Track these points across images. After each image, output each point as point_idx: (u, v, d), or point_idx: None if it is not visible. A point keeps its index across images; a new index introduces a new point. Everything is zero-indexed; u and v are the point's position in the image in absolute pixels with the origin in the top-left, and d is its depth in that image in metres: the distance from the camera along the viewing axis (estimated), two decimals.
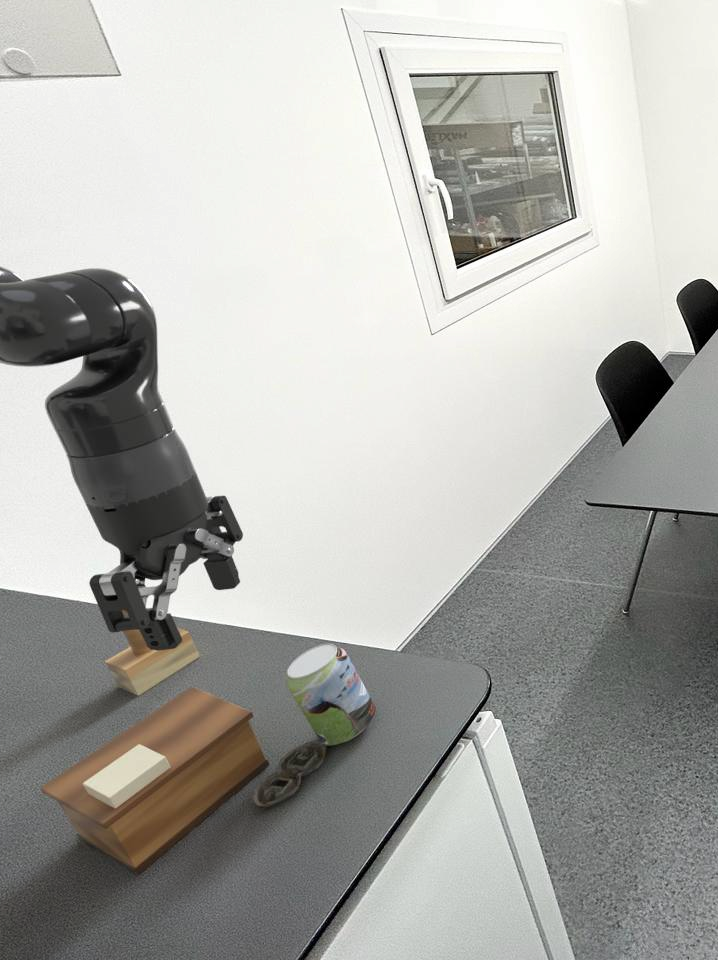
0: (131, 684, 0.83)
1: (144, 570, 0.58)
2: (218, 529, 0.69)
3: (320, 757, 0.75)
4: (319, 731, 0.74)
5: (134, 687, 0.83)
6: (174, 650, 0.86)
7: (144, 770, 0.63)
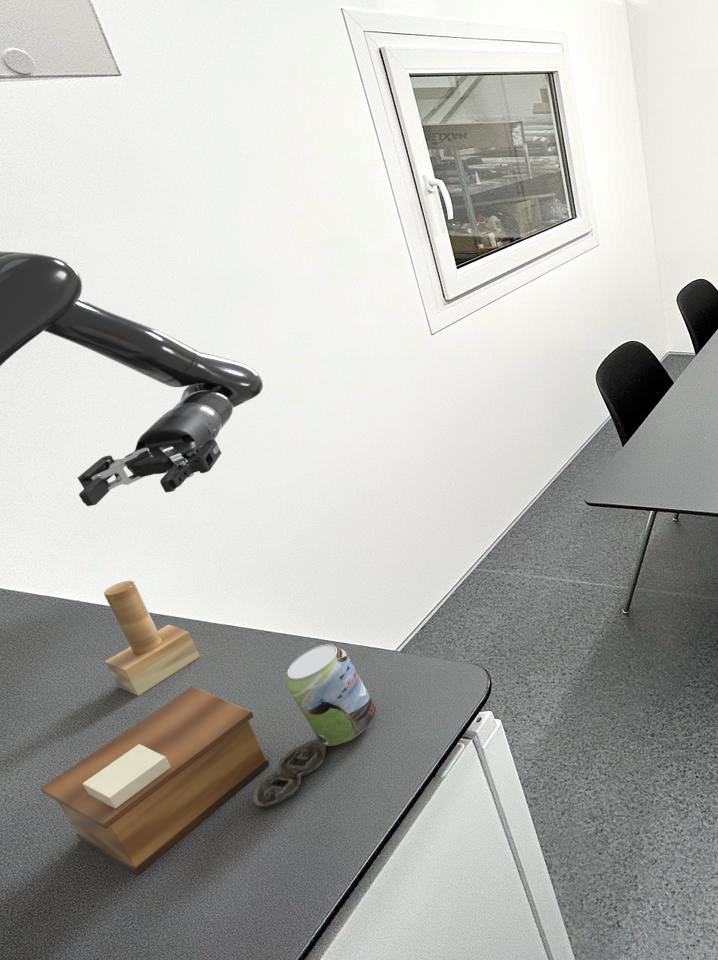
0: (131, 684, 0.83)
1: (194, 457, 0.95)
2: None
3: (320, 757, 0.75)
4: (319, 732, 0.74)
5: (134, 687, 0.83)
6: (174, 650, 0.86)
7: (144, 770, 0.63)
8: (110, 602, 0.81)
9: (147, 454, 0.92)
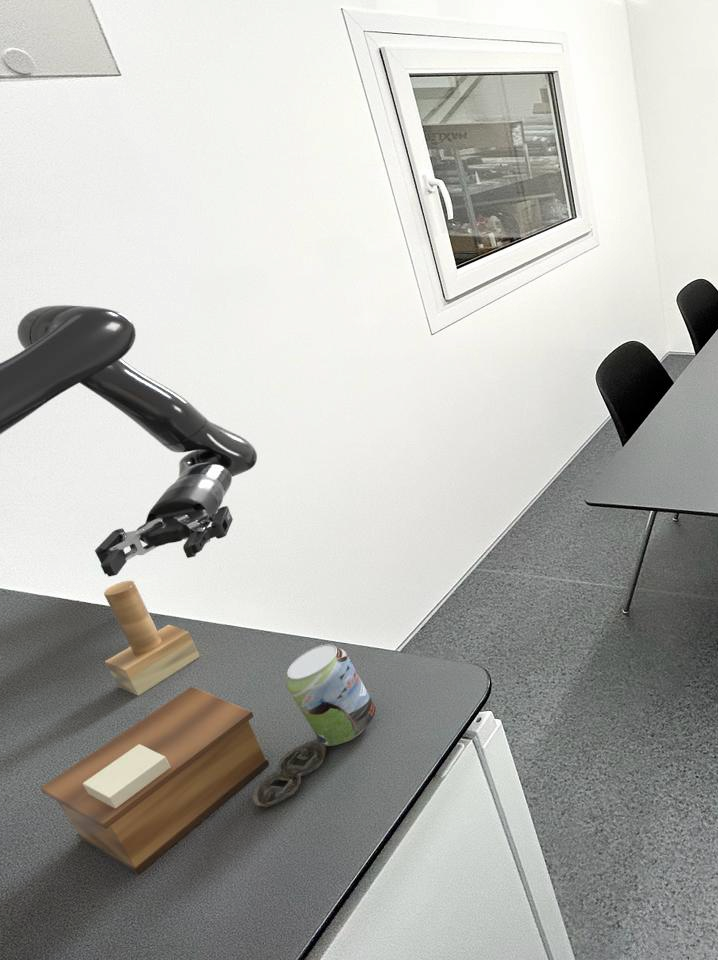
0: (131, 684, 0.83)
1: (206, 525, 0.99)
2: None
3: (320, 757, 0.75)
4: (319, 732, 0.74)
5: (134, 687, 0.83)
6: (174, 650, 0.86)
7: (144, 770, 0.63)
8: (110, 602, 0.81)
9: (161, 524, 0.96)
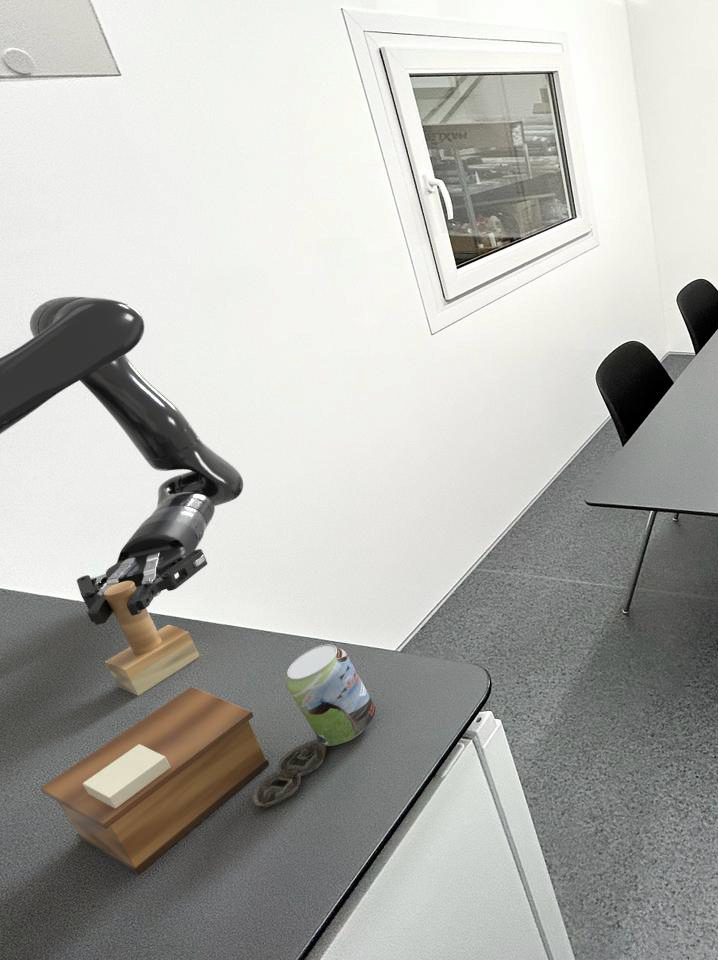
0: (131, 684, 0.83)
1: None
2: None
3: (320, 757, 0.75)
4: (319, 732, 0.74)
5: (134, 687, 0.83)
6: (174, 650, 0.86)
7: (144, 770, 0.63)
8: (110, 602, 0.81)
9: (134, 564, 0.87)
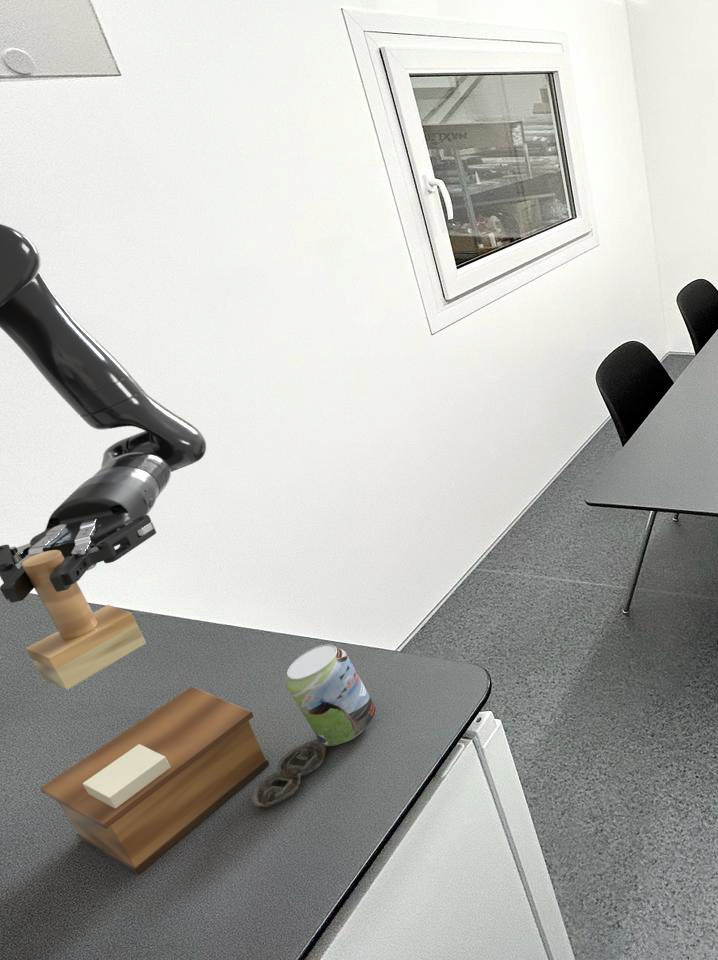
0: (58, 675, 0.68)
1: None
2: None
3: (320, 757, 0.75)
4: (319, 732, 0.74)
5: (61, 679, 0.68)
6: (113, 635, 0.72)
7: (144, 770, 0.63)
8: (30, 575, 0.66)
9: (64, 532, 0.72)
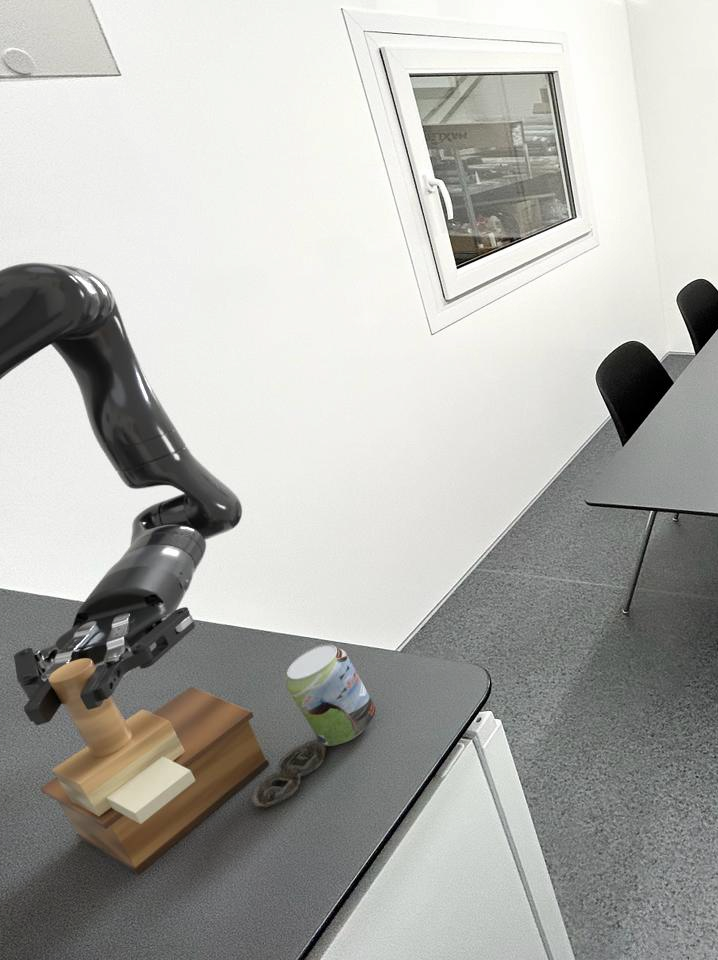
0: (89, 802, 0.60)
1: None
2: None
3: (320, 757, 0.75)
4: (319, 732, 0.74)
5: (93, 805, 0.60)
6: (149, 748, 0.64)
7: (169, 784, 0.62)
8: (57, 691, 0.58)
9: (94, 631, 0.64)
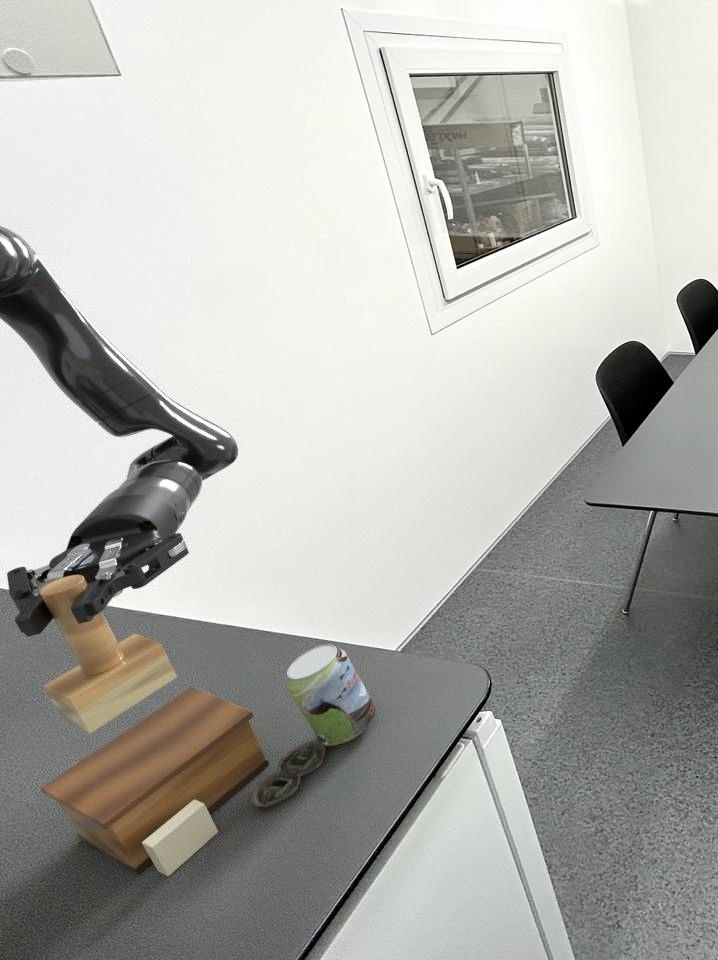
0: (79, 718, 0.60)
1: None
2: None
3: (320, 757, 0.75)
4: (319, 732, 0.74)
5: (84, 722, 0.60)
6: (141, 669, 0.63)
7: (200, 846, 0.65)
8: (49, 605, 0.58)
9: (88, 553, 0.64)
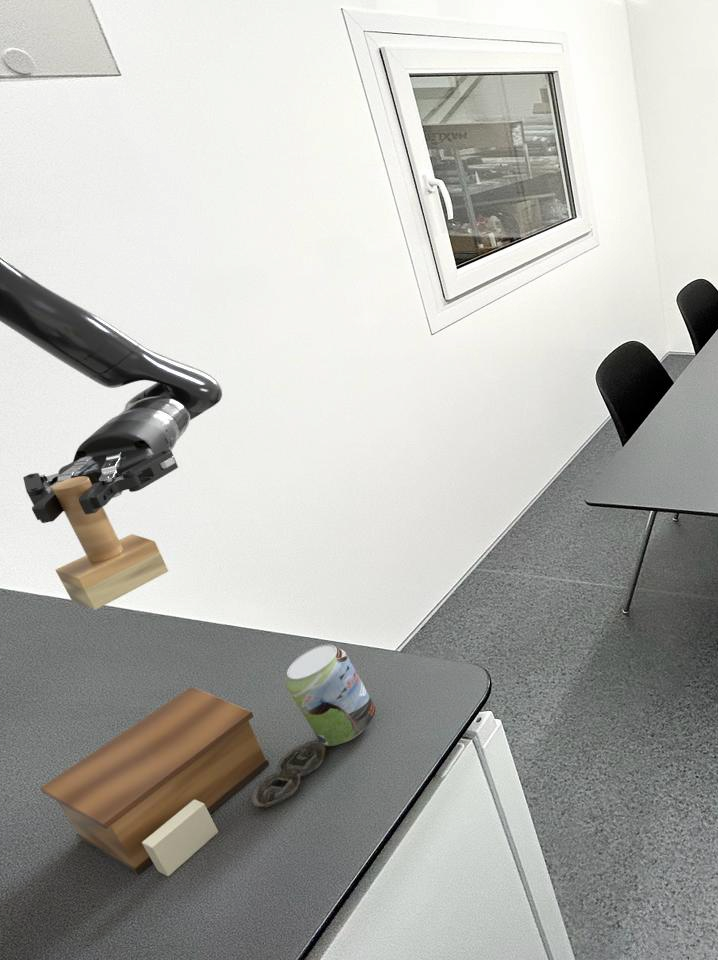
0: (86, 596, 0.71)
1: None
2: None
3: (319, 757, 0.75)
4: (319, 732, 0.74)
5: (90, 599, 0.71)
6: (138, 561, 0.75)
7: (200, 846, 0.65)
8: (60, 498, 0.69)
9: (91, 463, 0.75)
